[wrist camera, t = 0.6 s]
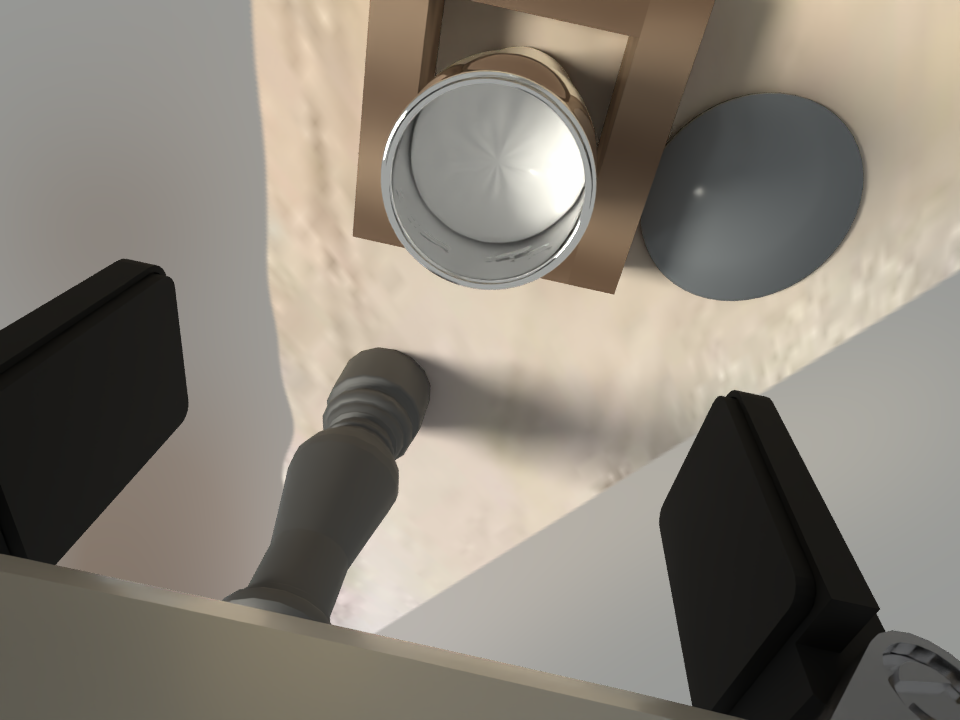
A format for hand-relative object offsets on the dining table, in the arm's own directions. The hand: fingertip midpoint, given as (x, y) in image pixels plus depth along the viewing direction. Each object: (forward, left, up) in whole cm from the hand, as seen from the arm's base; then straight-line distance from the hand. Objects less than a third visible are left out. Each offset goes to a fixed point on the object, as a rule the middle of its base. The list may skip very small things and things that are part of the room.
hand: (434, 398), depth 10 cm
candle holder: (+18, -5, -25) cm, 31 cm away
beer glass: (-1, 0, -25) cm, 25 cm away
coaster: (+1, +13, -24) cm, 28 cm away
